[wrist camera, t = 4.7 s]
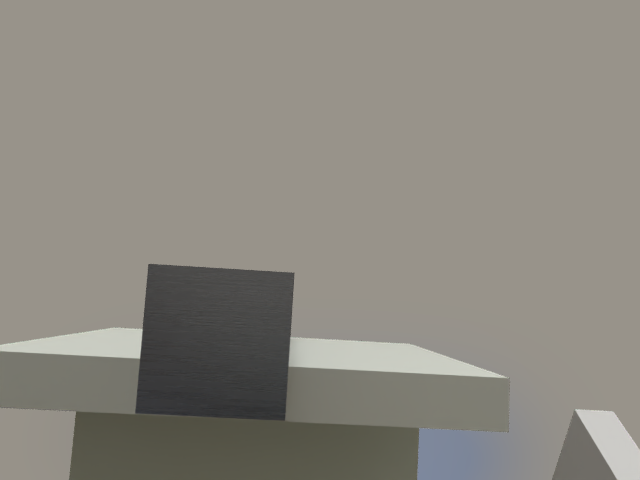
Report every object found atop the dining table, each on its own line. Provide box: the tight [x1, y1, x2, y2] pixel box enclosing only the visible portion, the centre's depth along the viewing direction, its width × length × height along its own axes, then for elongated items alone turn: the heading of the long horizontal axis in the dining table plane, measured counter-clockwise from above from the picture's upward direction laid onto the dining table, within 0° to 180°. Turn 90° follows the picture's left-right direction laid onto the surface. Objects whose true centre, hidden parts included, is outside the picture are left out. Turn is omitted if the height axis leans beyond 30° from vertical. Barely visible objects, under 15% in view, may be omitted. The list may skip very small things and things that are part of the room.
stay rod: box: [135, 264, 294, 421], centre depth 25 cm, size 26×3×3 cm, turn 3°
